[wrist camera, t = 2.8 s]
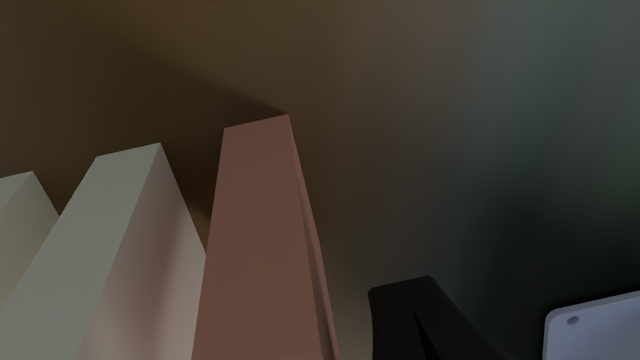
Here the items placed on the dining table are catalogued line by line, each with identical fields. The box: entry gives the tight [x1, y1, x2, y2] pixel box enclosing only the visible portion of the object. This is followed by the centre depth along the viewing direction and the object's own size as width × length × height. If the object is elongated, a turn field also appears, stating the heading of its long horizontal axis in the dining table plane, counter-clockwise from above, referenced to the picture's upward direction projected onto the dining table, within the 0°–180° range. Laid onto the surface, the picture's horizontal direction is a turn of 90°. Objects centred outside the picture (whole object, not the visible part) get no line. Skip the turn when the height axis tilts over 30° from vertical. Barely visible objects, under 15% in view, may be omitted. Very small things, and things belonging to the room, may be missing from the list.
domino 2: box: [0, 143, 206, 360], centre depth 12 cm, size 2×5×9 cm, turn 11°
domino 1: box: [191, 114, 340, 360], centre depth 12 cm, size 2×5×9 cm, turn 11°
